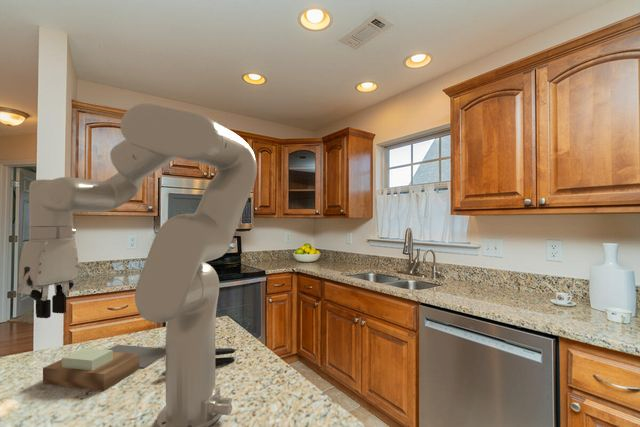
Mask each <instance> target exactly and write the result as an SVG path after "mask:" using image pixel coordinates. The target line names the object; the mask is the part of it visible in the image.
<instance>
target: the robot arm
mask: <svg viewBox="0 0 640 427" xmlns="http://www.w3.org/2000/svg"><path fill="white" fill-rule="evenodd" d="M120 132H121V134H122V136H123V138H124V139H123V140H122V141H121V142H119V143H118V144H115V145H114V146H113V147H112V148H111V150H110V153H109V156H110V160H111V163H112V165H113V166H114V168H115V170H116V171H117V173H115V174H113V176H111V177H109V178H108V179H105V180H97V179H90V178H89V179H88V178H80V177H72V176H71V177H70V176H66V177H65V176H63V177H57V178H54V179H36V180H35V179H34V180H33V181H31V182H30V183H29V186H28V187H29V188H28V189H29V190H28V192H29V197H28V199H29V200H28V201H29V203H28V205H29V206H28V209H29V210H28V211H29V212H28V215H29V216H28V219H29V220H28V224H29V226H28V227H29V228H28V229H29V230H28V232H29V233H28V234H29V235H28V236H29V237H28V238H29V239H28V241H25V242H24V243H23V247H22V250H21V254H20V259H19V268H18V270H19V271H18V288H17V290H16V291H17V293H18V294H23V295H27V296H29V297H30V298H31V299H32V300H33V301H35V316H36V319H37V318H38V319H49V318H50V317H51V316H52V315H51V314H52V313H53V314H66V313H67V296H68V295H69V294H70V291H71V289H72V288H73V287H74V286H75V285H77V283H79V282H80V281H81V277H80V275H79V255H78V249H77V245H76V241H75V239H73V235H74V234H76V231H77V230H76V228H73V224H74V223H73V213H74V212H75V213H78V212H79V213H107V212H110V211H113V210H116V209H117V208H119V207H121V206H123V205H124V204H126V203H128V202H129V201H131V200H133V199H134V198H135V197H136V195H138V193H139V192H140V190H141V188H142V187H143V183H144V180H145V178H147V177H149V176H151V175H152V174H154V173H156V172H157V171H159V170H160V169H162V168H163V167H165V166H167V165H168V164H170V163H172V162H173V161H174V160H176V159H178V158H179V159H182V160H186V161H189V162H192V163H196V164H200V165H203V166H206V167H211V168H213V169H215V171H216V174H215V176H214V177H212V179H211V180H210V181H209V182H208V184H207V186H206V187H205V189H204V191H203V193H202V196H201V199H200V202H199V205H198V206H197V208H196V209H195V212H194V213H181V214H176V215H174V216H172V217H170V218H169V219H168V220H165V222H163V224H162V225H161V227H160V228H159V229H158V230H157V232H156V234H155V236H154V239H153V241H152V244H151V245H150V248H149V251H148V254H147V257H146V259H145V261H144V264H143V267H142V270H141V273H140V275H139V277H138V281H137V283H136V286H135V294H134V300H135V301H134V302H135V308H136V310H137V312H138V313H139V315H140V317H142V319H144V320H146V321H148V322H151V323H153V324H154V323H155V324H160V323H161V324H162V323H166V322H167V323H166V331H165V349H166V355H165V406H164V407H163V408H162V409H161V410H160V411H159V412H158V414H157V419H156V423H157V424H156V425H157V427H211V425H213V424H214V423H216V422H217V420H218V419H219V418H221V416H230V415H231V413H232V410H233V405H232V403H233V402H232V401H233V399H232V397H222V395H221V388H220V387H217V386H216V365H215V358H216V356H215V349H216V319H217V316H216V315H217V306H218V299H219V293H220V279H219V275H218V273H217V271H216V270H215V268H214V267H213V266H211V264H209V263H207V262H210V261H213V260H216V259H219V258H221V257H223V256H224V255H225V254H226V253H227V252H228V250H229V248H230V246H231V244H232V242H233V239H234V236H235V234H236V231H237V228H238V225H239V223H240V221H241V218H242V215H243V212H244V210H245V207H246V204H247V202H248V199H249V197H250V195H251V192H252V190H253V187H254V186H255V182H256V179H257V174H258V163H257V160H256V156H255V152H254V151H253V149H252V148H251V147H250V145H249V144H248V142H246V141H245V140H244V139H243V138H242V137H241V136H240V135H238V134H237V133H235V132H234V131H232V130H231V129H229V128H227V127H226V126H224V125H221V123H218V122H217V121H215V120H213V119H212V118H209V117H208V116H206V115H203V114H200V113H196V112H191V111H189V110H182V109H177V108H173V107H172V108H171V107H168V106H163V105H159V104H155V103H154V104H152V103H139V104H136V105H134V106H132V107H130V108H129V109H128V110H126V111H125V113H124V114H123V115H122V117H121V120H120ZM53 285H54V286H53ZM50 286H53V287H54V293H55V294H54V295H52V297H51V299H52V300H51V299H49V290H50V288H49V287H50ZM51 303H52V304H51ZM51 312H52V313H51Z"/></svg>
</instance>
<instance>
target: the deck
mask: <svg viewBox="0 0 640 427" xmlns="http://www.w3.org/2000/svg"><path fill="white" fill-rule="evenodd" d="M138 369H139V370H140V368H139V354H131V353H120V352H113V360H111V361H109V362H107V363H105V364H103V365H102V366H100V367H98V368H96V369H94V370H82V369H72V368H63V367H62V358H61V359H60V360H57V361H55V362H53V363H50V364H49V365H46V366H44V367H42V385H48V386H56V387H66V388H74V389H75V388H76V389H82V390H83V389H84V390H90V391H99V392H105V391H107V390H109V389H110V388H112V387H113V386H115V385H117V384H118V383H119V382H121V381H123V380H124V379H126V378H127V377H129V376H131V375H133V374H134V373H136V372H137V371H139V370H138Z"/></svg>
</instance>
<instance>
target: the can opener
mask: <svg viewBox="0 0 640 427" xmlns="http://www.w3.org/2000/svg"><path fill="white" fill-rule="evenodd" d="M235 352H236V349H234V347H233V348H231V347H230V348H226V347H225V348H224V347H223V348H222V347H221V348H215V366H220V365H221V366H222V365H227V364H230V363H233V362H234V361H236V359H235V357H233V356H229V357H228V356H227V357H226V356H225V357H216V356H223V355H232V354H234V353H235Z"/></svg>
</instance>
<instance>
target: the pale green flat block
mask: <svg viewBox="0 0 640 427" xmlns="http://www.w3.org/2000/svg"><path fill="white" fill-rule="evenodd" d="M61 359H62V367H63V368H72V369H82V370H94V369H96V368H98V367H100V366H102V365H103V364H105V363H107V362H109V361H111V360H113V350H108V349H103V348H91V347H90V348H89V347H82V348H81V349H78V350H76V351H74V352H71V353H69V354H67V355H65V356H62V357H61Z"/></svg>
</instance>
